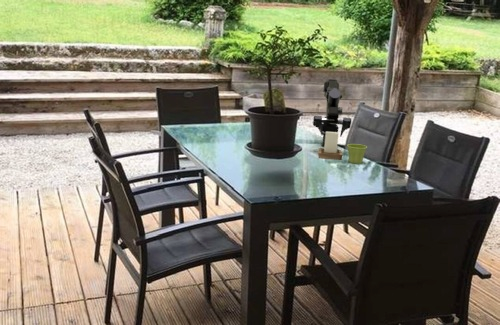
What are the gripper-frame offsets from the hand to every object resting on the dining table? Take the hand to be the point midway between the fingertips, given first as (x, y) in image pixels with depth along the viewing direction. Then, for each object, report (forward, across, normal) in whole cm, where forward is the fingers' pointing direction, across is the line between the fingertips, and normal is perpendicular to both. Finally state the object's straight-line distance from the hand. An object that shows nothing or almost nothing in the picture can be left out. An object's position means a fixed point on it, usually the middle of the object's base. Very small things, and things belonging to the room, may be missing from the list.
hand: (331, 135), depth 273 cm
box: (+9, 0, +6) cm, 11 cm away
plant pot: (+15, +12, 0) cm, 19 cm away
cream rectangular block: (+9, 0, +5) cm, 10 cm away
